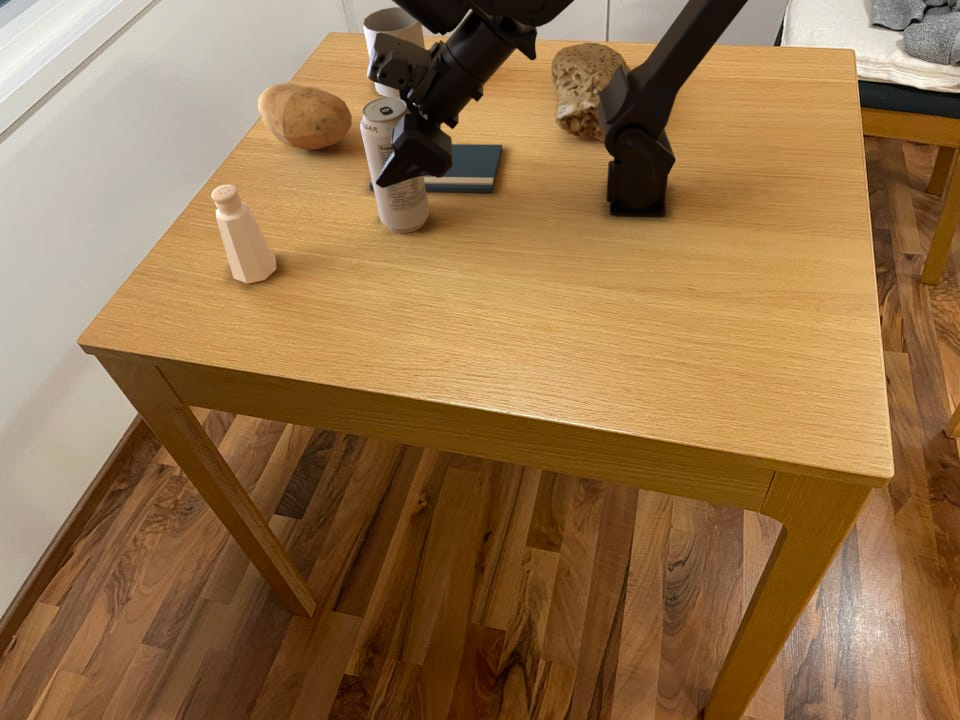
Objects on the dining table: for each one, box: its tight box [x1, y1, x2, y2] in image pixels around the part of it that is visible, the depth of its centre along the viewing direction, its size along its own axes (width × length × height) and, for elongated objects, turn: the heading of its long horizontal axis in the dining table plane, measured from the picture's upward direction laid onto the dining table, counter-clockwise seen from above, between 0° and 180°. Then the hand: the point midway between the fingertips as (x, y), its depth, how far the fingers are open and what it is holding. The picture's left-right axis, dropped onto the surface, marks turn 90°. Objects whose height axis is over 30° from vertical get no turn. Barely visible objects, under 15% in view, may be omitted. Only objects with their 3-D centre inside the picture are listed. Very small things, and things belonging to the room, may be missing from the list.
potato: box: [257, 82, 353, 151], centre depth 103 cm, size 10×14×8 cm
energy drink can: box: [359, 96, 430, 234], centre depth 86 cm, size 6×6×15 cm
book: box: [369, 143, 503, 194], centre depth 98 cm, size 16×10×1 cm, turn 81°
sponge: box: [550, 42, 632, 143], centre depth 104 cm, size 13×8×20 cm
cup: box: [362, 6, 426, 98], centre depth 112 cm, size 8×8×10 cm
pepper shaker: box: [210, 184, 277, 285], centre depth 84 cm, size 5×5×11 cm
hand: (381, 162), depth 86 cm, fingers open, 9 cm apart
